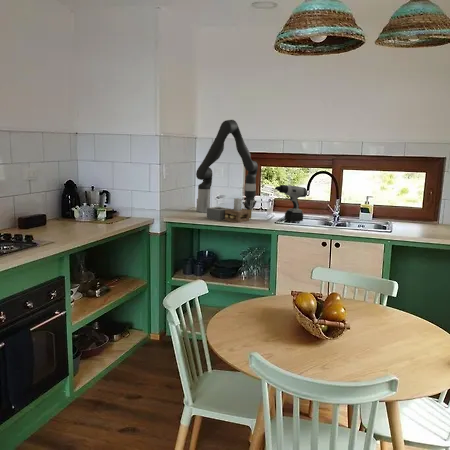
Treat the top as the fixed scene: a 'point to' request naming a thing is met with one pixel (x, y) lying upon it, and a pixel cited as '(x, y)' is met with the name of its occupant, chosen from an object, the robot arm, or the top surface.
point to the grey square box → (216, 213)
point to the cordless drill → (294, 194)
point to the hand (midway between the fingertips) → (249, 214)
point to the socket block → (237, 215)
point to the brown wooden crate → (241, 215)
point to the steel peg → (237, 204)
